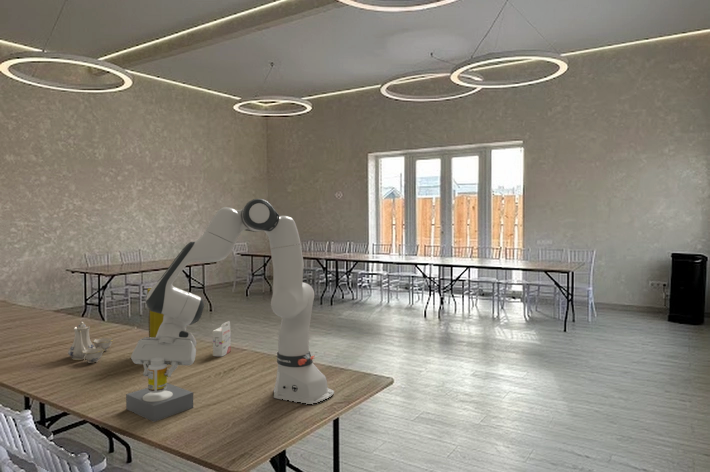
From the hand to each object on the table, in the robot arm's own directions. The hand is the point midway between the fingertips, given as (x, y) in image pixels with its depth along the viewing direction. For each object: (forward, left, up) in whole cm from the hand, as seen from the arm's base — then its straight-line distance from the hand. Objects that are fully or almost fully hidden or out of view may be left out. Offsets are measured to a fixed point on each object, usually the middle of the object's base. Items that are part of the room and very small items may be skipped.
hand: (156, 375), depth 151 cm
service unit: (+2, -3, -12) cm, 12 cm away
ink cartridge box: (+36, -55, -12) cm, 67 cm away
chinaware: (+79, -16, -12) cm, 82 cm away
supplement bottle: (0, -1, -5) cm, 5 cm away
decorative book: (+54, -36, -12) cm, 66 cm away
